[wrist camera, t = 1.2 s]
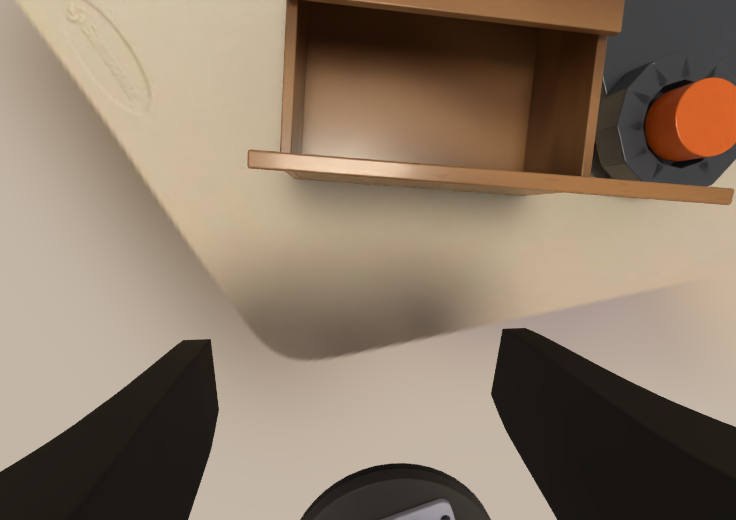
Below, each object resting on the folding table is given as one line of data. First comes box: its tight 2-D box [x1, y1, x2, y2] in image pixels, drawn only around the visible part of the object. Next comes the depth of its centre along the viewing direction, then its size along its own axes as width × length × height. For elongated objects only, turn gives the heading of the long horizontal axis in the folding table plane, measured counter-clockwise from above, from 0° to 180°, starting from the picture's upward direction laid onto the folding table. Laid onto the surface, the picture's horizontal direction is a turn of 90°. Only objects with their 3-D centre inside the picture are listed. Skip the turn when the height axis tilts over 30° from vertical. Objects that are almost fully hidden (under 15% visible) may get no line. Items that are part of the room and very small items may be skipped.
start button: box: [645, 77, 736, 162], centre depth 18 cm, size 3×3×2 cm
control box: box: [595, 0, 736, 187], centre depth 20 cm, size 10×10×3 cm
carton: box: [280, 0, 625, 196], centre depth 17 cm, size 11×12×6 cm
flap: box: [248, 150, 734, 205], centre depth 12 cm, size 5×12×1 cm
